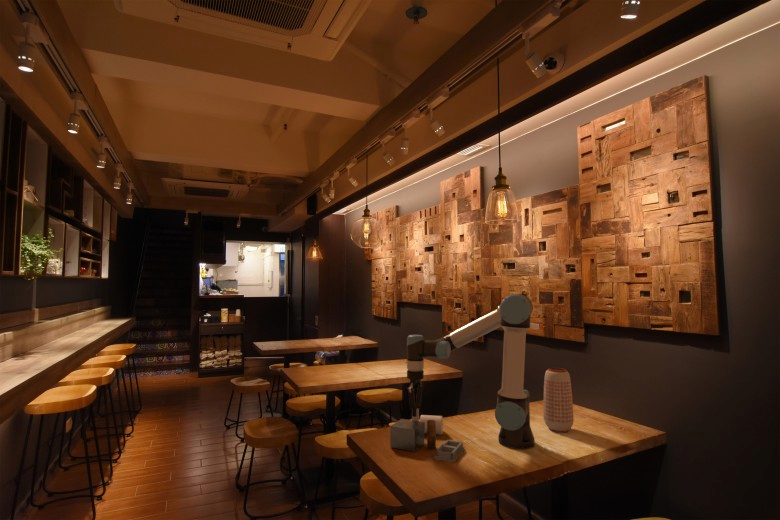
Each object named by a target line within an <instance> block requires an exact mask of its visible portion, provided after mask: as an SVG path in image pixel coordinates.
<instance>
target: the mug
mask: <svg viewBox="0 0 780 520" xmlns="http://www.w3.org/2000/svg"><path fill="white" fill-rule="evenodd" d="M428 420H435V421H436V435H440V436H442V435H443V432H444V431H443V430H444V429H443V428H444V427H443V426H444V419H443V415H429V414H421V415H420V416H419V421H420V422H425V431H424V435H427V421H428Z"/></svg>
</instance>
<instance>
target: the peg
mask: <svg viewBox="0 0 780 520" xmlns="http://www.w3.org/2000/svg"><path fill="white" fill-rule="evenodd" d="M426 438H427V439H426V444H427V445H426V446H427V447H426V448H427V450H431V451H432V450H436V449H437V440H436V438H437V434H436V421H435V420H428V421H427V434H426Z"/></svg>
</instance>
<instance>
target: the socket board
mask: <svg viewBox="0 0 780 520" xmlns="http://www.w3.org/2000/svg"><path fill="white" fill-rule="evenodd" d="M463 443H464V442H462V441H456V440H451V439H446V441H444V442H443V443H442V444H441V445H440V446H439V447H438V448H436V449H437V450H436V449H435V455H433V460H437V461H443V462H446V463H447V462H448V463H452V464H454V463H455V462H456V461H457V459H458V458H459V457H460V456H461V455H462V454H463V452H464V450H465V446H464V444H463Z"/></svg>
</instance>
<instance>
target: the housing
mask: <svg viewBox="0 0 780 520" xmlns="http://www.w3.org/2000/svg"><path fill="white" fill-rule="evenodd" d="M389 428H390V429H389V431H390V432H389V433H390V434H389V435H390V436H389V437H390V438H389V439H390V442H389V443H390V445H389V446H390V447H389V448H392V449H393V448H394V449H399V450H403V451H409V452H416V451H417V450H419V449H420V448H421V447H422V446H423V445H424V444H425V433H424V431H425V422H420V420H419V421H414V420H412V419H405V418H400V419H399V420H397V421H396V422H394V423H392V424H391V425H390V427H389Z"/></svg>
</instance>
